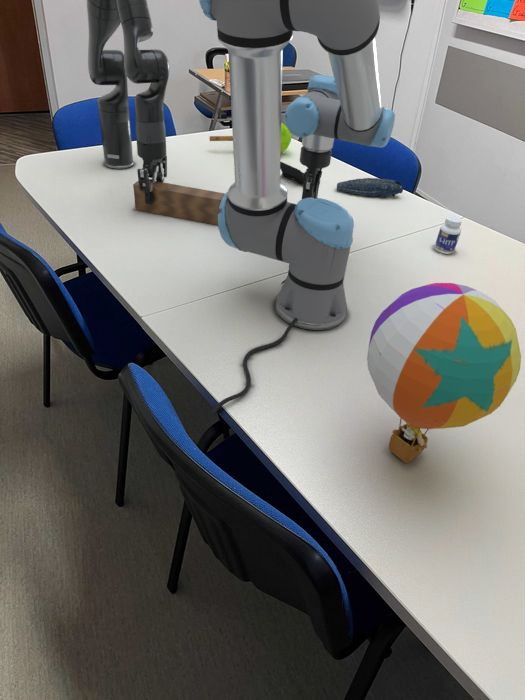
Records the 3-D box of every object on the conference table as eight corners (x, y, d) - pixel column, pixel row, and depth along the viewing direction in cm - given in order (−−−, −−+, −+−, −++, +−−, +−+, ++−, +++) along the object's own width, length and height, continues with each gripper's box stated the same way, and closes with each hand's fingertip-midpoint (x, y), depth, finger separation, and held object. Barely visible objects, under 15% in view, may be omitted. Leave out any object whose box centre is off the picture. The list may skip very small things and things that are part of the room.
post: (324, 237, 141) (328, 211, 137) (321, 244, 138) (325, 218, 133) (142, 203, 149) (140, 178, 145) (135, 209, 146) (133, 184, 141)
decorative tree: (206, 116, 188) (287, 116, 194) (207, 146, 195) (285, 145, 200) (212, 130, 175) (298, 130, 180) (212, 162, 181) (296, 160, 186)
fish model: (402, 201, 164) (405, 185, 161) (336, 194, 165) (338, 178, 162) (400, 193, 170) (403, 178, 167) (335, 186, 171) (338, 171, 168)
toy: (317, 443, 83) (351, 282, 64) (393, 393, 94) (441, 242, 75) (417, 530, 72) (494, 366, 53) (490, 462, 83) (575, 305, 64)
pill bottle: (433, 251, 139) (442, 220, 133) (435, 243, 143) (444, 213, 137) (453, 256, 138) (464, 225, 132) (454, 247, 142) (465, 217, 136)
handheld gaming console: (320, 175, 173) (310, 154, 164) (311, 192, 172) (300, 172, 163) (292, 170, 179) (281, 150, 171) (283, 187, 178) (271, 167, 169)
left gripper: (149, 128, 141) (152, 188, 151) (125, 143, 130) (130, 206, 140) (175, 132, 139) (177, 192, 150) (153, 147, 128) (156, 211, 139)
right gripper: (308, 135, 133) (297, 220, 147) (293, 156, 119) (283, 247, 134) (337, 139, 132) (323, 224, 146) (326, 161, 118) (312, 253, 132)
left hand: (154, 199), depth 145 cm, fingers open, 6 cm apart
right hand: (304, 235), depth 140 cm, fingers closed on post, 5 cm apart
